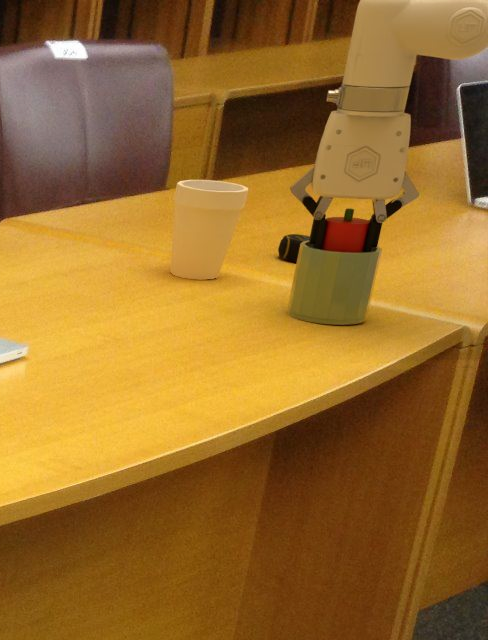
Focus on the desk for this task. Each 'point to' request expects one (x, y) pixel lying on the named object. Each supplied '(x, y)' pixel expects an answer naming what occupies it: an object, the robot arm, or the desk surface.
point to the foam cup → (204, 226)
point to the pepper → (345, 233)
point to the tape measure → (291, 246)
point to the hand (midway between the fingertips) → (341, 250)
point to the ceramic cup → (333, 285)
